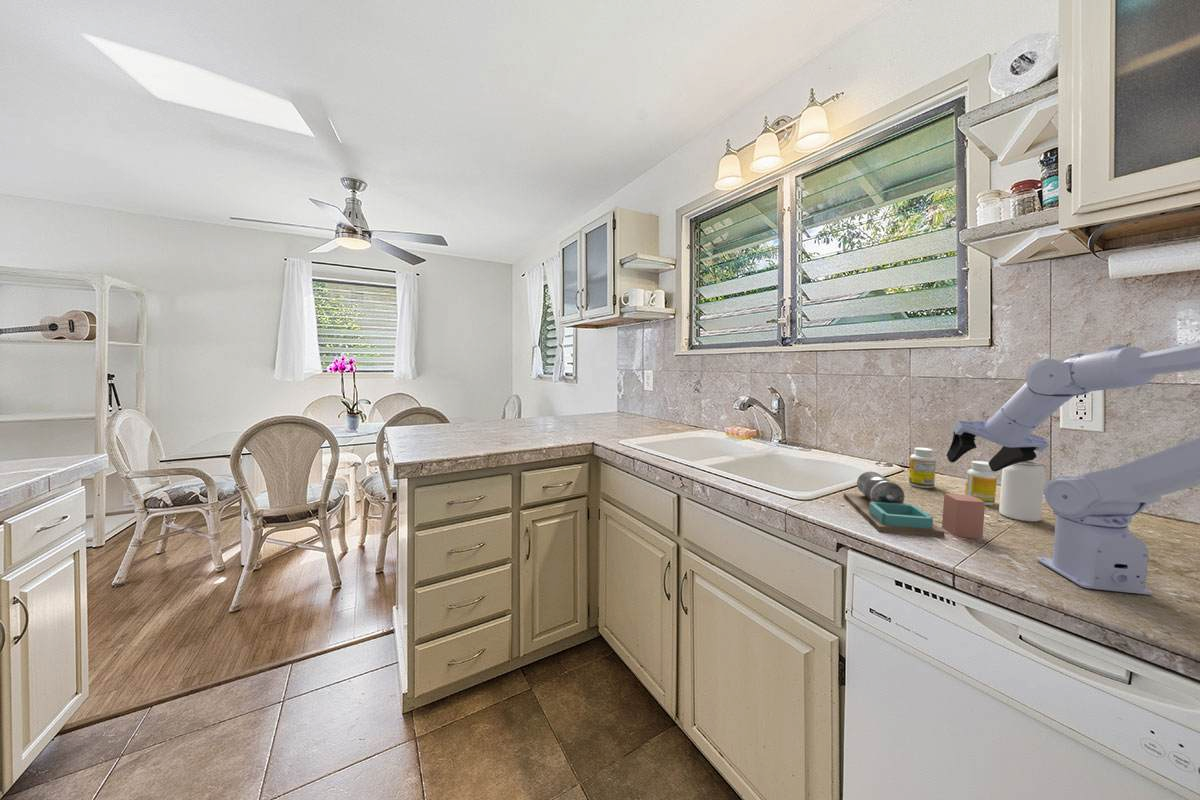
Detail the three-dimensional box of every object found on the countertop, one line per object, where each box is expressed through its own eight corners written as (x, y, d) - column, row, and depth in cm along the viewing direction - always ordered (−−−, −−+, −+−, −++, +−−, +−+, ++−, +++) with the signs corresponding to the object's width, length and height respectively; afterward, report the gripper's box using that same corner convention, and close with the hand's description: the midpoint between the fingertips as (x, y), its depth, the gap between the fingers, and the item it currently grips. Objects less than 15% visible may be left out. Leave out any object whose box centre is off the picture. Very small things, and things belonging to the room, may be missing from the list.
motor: (906, 514, 90) (908, 484, 90) (873, 511, 92) (874, 482, 92) (884, 497, 102) (886, 471, 101) (855, 495, 103) (856, 469, 103)
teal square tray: (934, 529, 82) (935, 519, 82) (883, 524, 84) (883, 515, 84) (913, 513, 90) (914, 504, 90) (867, 510, 92) (867, 501, 92)
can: (1049, 523, 87) (1055, 466, 86) (1013, 521, 89) (1017, 465, 88) (1025, 513, 94) (1029, 459, 93) (991, 511, 95) (995, 458, 94)
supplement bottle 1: (913, 482, 118) (915, 446, 118) (937, 486, 114) (940, 449, 113) (904, 485, 115) (907, 448, 114) (929, 490, 111) (931, 451, 110)
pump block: (982, 538, 80) (985, 502, 79) (954, 535, 81) (957, 500, 81) (968, 529, 84) (970, 495, 84) (941, 527, 85) (944, 493, 85)
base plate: (944, 537, 80) (944, 531, 80) (879, 531, 83) (879, 526, 83) (893, 500, 102) (894, 496, 102) (843, 496, 105) (843, 492, 105)
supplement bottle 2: (958, 498, 104) (961, 460, 103) (979, 498, 104) (982, 459, 103) (979, 505, 98) (982, 465, 98) (1001, 505, 99) (1004, 465, 98)
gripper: (1055, 409, 77) (1003, 456, 86) (967, 392, 79) (925, 440, 89) (1075, 437, 72) (1017, 484, 82) (981, 418, 75) (935, 465, 84)
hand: (970, 463), depth 85 cm, fingers open, 7 cm apart
